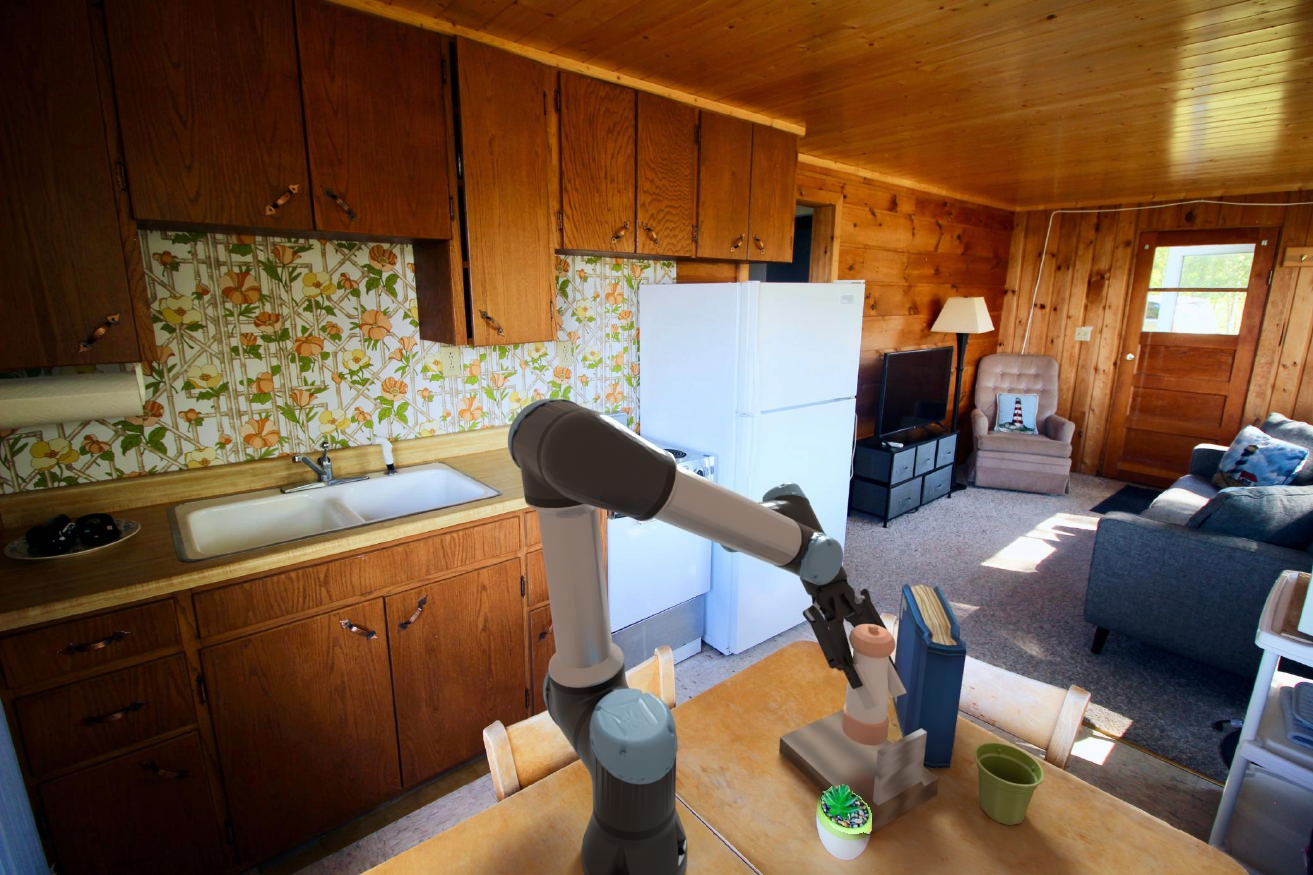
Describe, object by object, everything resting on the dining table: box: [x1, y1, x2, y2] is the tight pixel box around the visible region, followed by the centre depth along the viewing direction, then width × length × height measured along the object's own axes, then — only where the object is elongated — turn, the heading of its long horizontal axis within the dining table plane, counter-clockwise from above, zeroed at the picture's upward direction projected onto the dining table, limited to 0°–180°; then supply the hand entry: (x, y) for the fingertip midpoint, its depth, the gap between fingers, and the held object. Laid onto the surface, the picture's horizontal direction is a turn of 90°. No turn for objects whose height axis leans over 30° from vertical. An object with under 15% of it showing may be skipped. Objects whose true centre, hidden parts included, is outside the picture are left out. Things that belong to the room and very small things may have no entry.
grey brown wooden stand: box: [778, 708, 940, 834], centre depth 103 cm, size 16×20×12 cm
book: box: [892, 583, 967, 770], centre depth 111 cm, size 22×7×25 cm, turn 168°
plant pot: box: [973, 741, 1045, 826], centre depth 95 cm, size 9×9×9 cm
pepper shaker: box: [842, 624, 896, 746], centre depth 100 cm, size 7×7×19 cm
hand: (886, 701), depth 97 cm, fingers closed on pepper shaker, 5 cm apart
